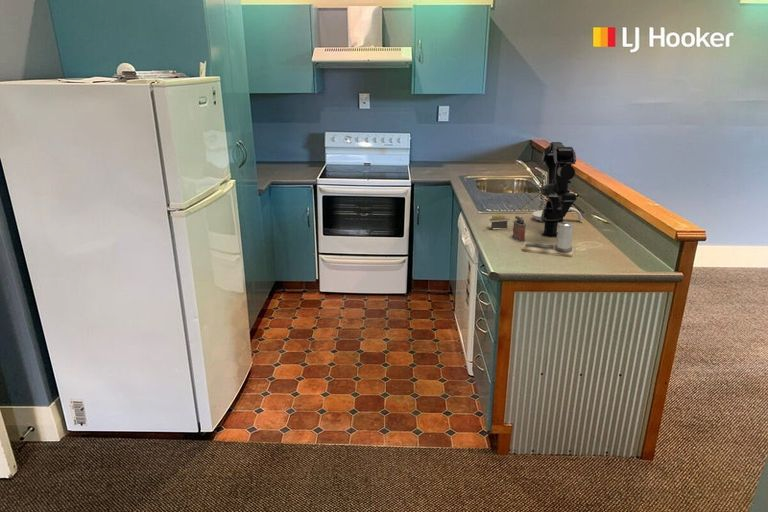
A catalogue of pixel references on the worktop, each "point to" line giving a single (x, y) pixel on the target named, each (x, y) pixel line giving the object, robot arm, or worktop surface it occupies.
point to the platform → (499, 222)
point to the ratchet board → (547, 249)
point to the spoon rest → (538, 213)
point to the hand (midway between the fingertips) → (558, 215)
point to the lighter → (519, 229)
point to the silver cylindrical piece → (564, 235)
